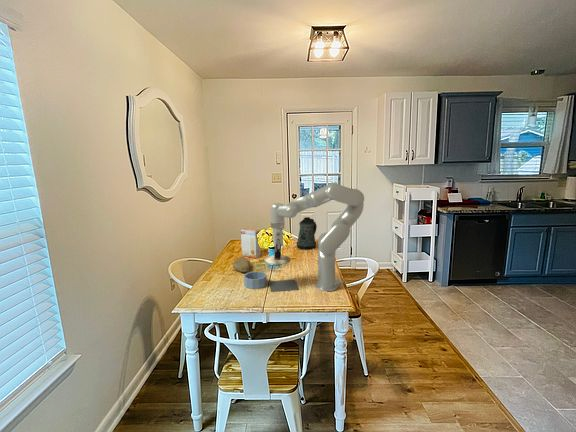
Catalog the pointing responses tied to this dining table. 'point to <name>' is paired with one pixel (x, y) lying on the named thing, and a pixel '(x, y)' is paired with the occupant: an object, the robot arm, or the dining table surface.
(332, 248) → the robot arm
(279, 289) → the mat
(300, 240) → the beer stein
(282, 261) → the lid
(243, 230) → the cracker box
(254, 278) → the cup
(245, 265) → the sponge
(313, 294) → the dining table surface
